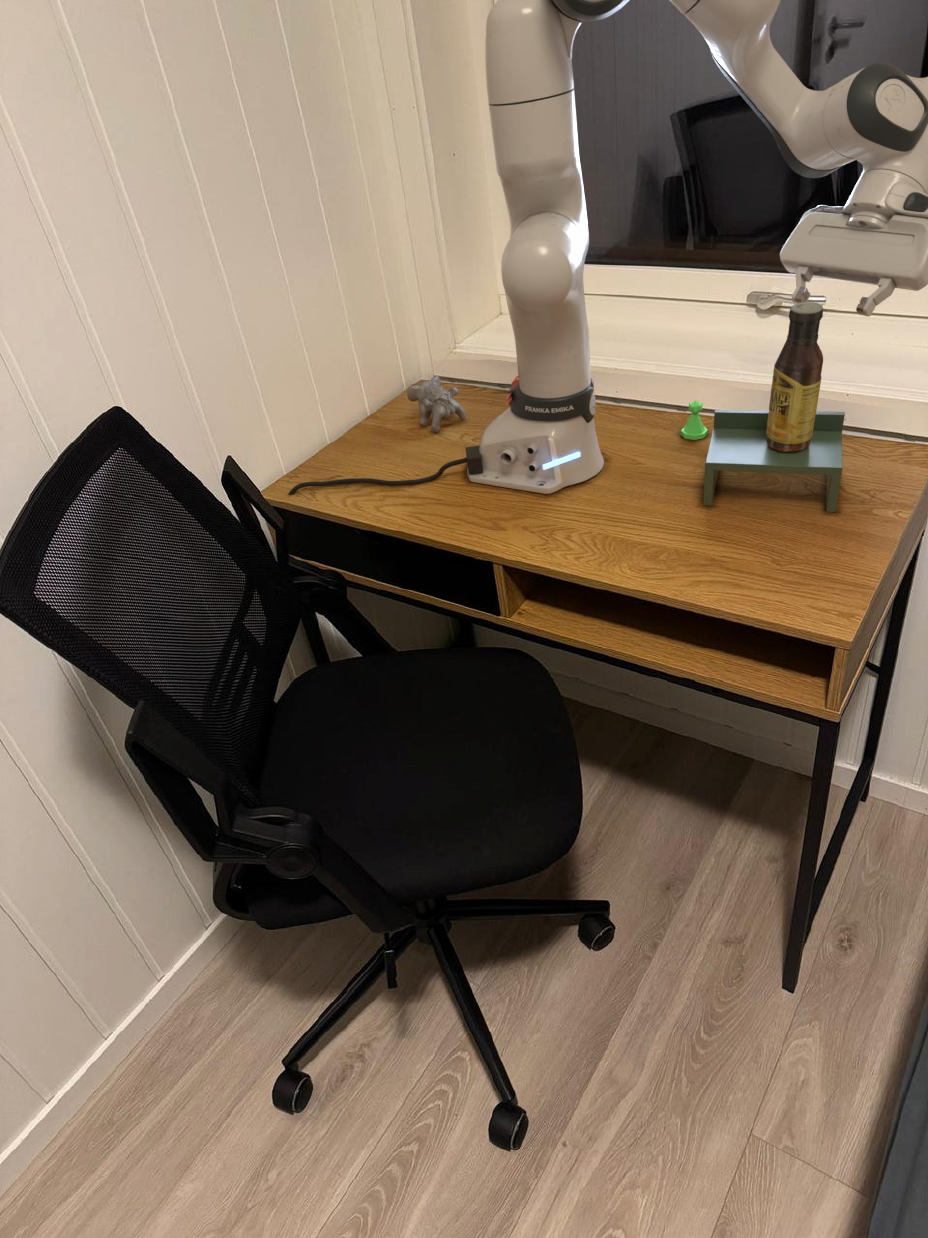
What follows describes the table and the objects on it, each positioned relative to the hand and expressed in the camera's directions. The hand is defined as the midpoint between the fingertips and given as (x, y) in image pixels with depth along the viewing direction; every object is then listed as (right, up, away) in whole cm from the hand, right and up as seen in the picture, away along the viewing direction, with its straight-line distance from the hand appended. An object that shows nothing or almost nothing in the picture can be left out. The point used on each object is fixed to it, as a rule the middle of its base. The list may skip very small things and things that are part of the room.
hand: (829, 307), depth 114 cm
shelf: (-3, -22, +13) cm, 26 cm away
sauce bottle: (-2, -17, +9) cm, 19 cm away
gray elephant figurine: (-54, -5, +47) cm, 72 cm away
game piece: (-10, -11, +30) cm, 33 cm away
